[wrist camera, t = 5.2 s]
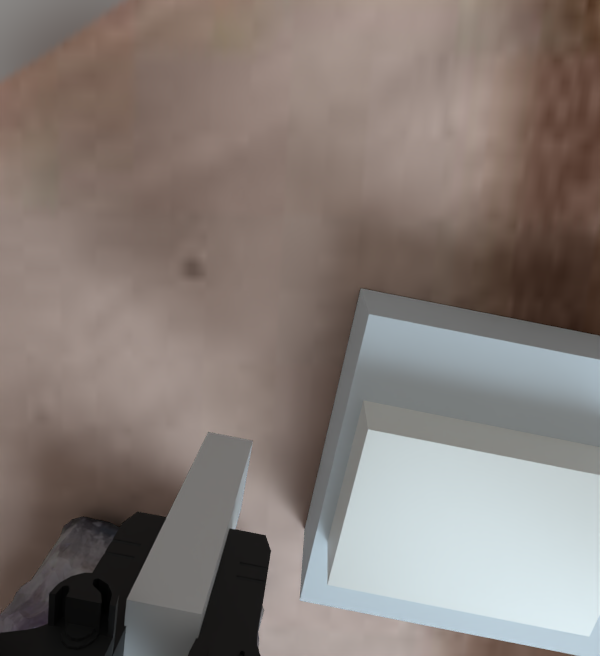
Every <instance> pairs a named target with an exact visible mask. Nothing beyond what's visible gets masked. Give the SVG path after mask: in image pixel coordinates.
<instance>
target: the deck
mask: <svg viewBox="0 0 600 656" xmlns="http://www.w3.org/2000/svg"><path fill="white" fill-rule="evenodd" d="M363 400H364V401H370V402H375V403H380V404H385V405H390V406H395V407H400V408H405V409H410V410H415V411H420V412H425V413H430V414H435V415H440V416H445V417H450V418H455V419H460V420H465V421H470V422H475V423H481V424H486V425H491V426H496V427H501V428H506V429H511V430H516V431H521V432H526V433H531V434H536V435H541V436H546V437H551V438H556V439H561V440H566V441H571V442H576V443H581V444H586V445H592V446H597V447H600V336H599V335H594V334H589V333H584V332H579V331H574V330H569V329H564V328H559V327H554V326H549V325H543V324H538V323H533V322H528V321H523V320H518V319H513V318H508V317H503V316H498V315H493V314H488V313H483V312H478V311H473V310H468V309H463V308H458V307H453V306H448V305H443V304H438V303H433V302H428V301H422V300H417V299H412V298H407V297H402V296H397V295H392V294H387V293H382V292H377V291H372V290H367V289H362V288H361V289H360V294H359V298H358V302H357V307H356V311H355V315H354V319H353V324H352V328H351V332H350V337H349V341H348V345H347V350H346V354H345V358H344V362H343V367H342V371H341V375H340V380H339V384H338V388H337V392H336V397H335V401H334V405H333V410H332V414H331V418H330V423H329V427H328V431H327V435H326V440H325V444H324V448H323V453H322V457H321V461H320V466H319V470H318V474H317V478H316V483H315V487H314V491H313V496H312V500H311V504H310V509H309V513H308V517H307V521H306V526H305V530H304V545H303V560H302V574H301V589H300V601H305V602H310V603H315V604H320V605H325V606H330V607H336V608H341V609H346V610H351V611H356V612H361V613H366V614H371V615H376V616H381V617H386V618H391V619H396V620H401V621H406V622H411V623H416V624H421V625H426V626H431V627H437V628H442V629H447V630H452V631H457V632H462V633H467V634H472V635H477V636H482V637H487V638H492V639H497V640H502V641H507V642H512V643H517V644H522V645H527V646H533V647H538V648H543V649H548V650H553V651H558V652H563V653H568V654H573V655H578V656H600V616H599V618H598V620H597V622H596V624H595V626H594V628H593V630H592V632H591V634H590V636H589V637H588V636H583V635H578V634H573V633H568V632H563V631H558V630H553V629H548V628H543V627H538V626H533V625H527V624H522V623H517V622H512V621H507V620H502V619H497V618H492V617H487V616H482V615H477V614H472V613H467V612H462V611H457V610H452V609H447V608H442V607H437V606H431V605H426V604H421V603H416V602H411V601H406V600H401V599H396V598H391V597H386V596H381V595H376V594H371V593H366V592H361V591H356V590H351V589H346V588H341V587H336V586H330V585H327V542H328V538H329V534H330V530H331V526H332V522H333V518H334V514H335V510H336V506H337V502H338V498H339V494H340V490H341V487H342V483H343V479H344V475H345V471H346V467H347V463H348V459H349V455H350V451H351V447H352V443H353V439H354V435H355V431H356V427H357V423H358V419H359V415H360V411H361V407H362V403H363Z"/></svg>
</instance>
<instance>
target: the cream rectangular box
mask: <svg viewBox="0 0 600 656" xmlns="http://www.w3.org/2000/svg"><path fill="white" fill-rule="evenodd" d="M327 585H330V586H336V587H341V588H346V589H351V590H356V591H361V592H366V593H371V594H376V595H381V596H386V597H391V598H396V599H401V600H406V601H411V602H416V603H421V604H426V605H431V606H437V607H442V608H447V609H452V610H457V611H462V612H467V613H472V614H477V615H482V616H487V617H492V618H497V619H502V620H507V621H512V622H517V623H522V624H527V625H533V626H538V627H543V628H548V629H553V630H558V631H563V632H568V633H573V634H578V635H583V636H588V637H589V636H590V634H591V632H592V630H593V628H594V626H595V624H596V622H597V620H598V618H599V616H600V447H597V446H592V445H586V444H581V443H576V442H571V441H566V440H561V439H556V438H551V437H546V436H541V435H536V434H531V433H526V432H521V431H516V430H511V429H506V428H501V427H496V426H491V425H486V424H481V423H475V422H470V421H465V420H460V419H455V418H450V417H445V416H440V415H435V414H430V413H425V412H420V411H415V410H410V409H405V408H400V407H395V406H390V405H385V404H380V403H375V402H370V401H364V400H363V403H362V407H361V411H360V415H359V419H358V423H357V427H356V431H355V435H354V439H353V443H352V447H351V451H350V455H349V459H348V463H347V467H346V471H345V475H344V479H343V483H342V487H341V490H340V494H339V498H338V502H337V506H336V510H335V514H334V518H333V522H332V526H331V530H330V534H329V538H328V542H327Z"/></svg>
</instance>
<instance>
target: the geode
mask: <svg viewBox="0 0 600 656" xmlns="http://www.w3.org/2000/svg"><path fill="white" fill-rule="evenodd" d="M119 528H120V527H118V526H116V525H114V524H112V523H110V522H105V521H100V520H95V519H91V518H87V517H80V518H76V519H73V520H71V521H70V522H69V523H67V524H66V525H65V526H64V527H63V530H62V533H61V536H60V538H59V539H58V541H57V542H56V544H55V545H54V547H53V548H52V550H51V551H50V553H49V554H48V555H47V557H46V559H45V560H44V562H43V563H42V565H41V566H40V568H39V570H38V571H37V573H36V574H35V575H34V577H33V578H32V580H31V581H29V582H28V583H26V584H25V585H23V586H22V587H21V588H20V589H19V590H18V592H17V593H16V595H15V597H14V600H13V601H12V602H11V603H10V604H9V605H8V607H7V608H6V609H5V610H4V611H3V612H2V613H1V614H0V633H1V632H10V631H19V630H27V629H32V628H37V627H40V626H43V625H45V624H48V607H49V593H50V592H51V591H52V590H53V589H54V588H55V586H56V585H57V584H58V583H60V582H62V581H63V580H65V579H67V578H69V577H70V576H73V575H77V574H81V573H92V572H93V571H94V569H95V567H96V566H97V564H98V562H99V561H100V559H101V557H102V556H103V554H105V551H106V549H107V548H108V546H109V544H110V543H111V542H112V541H113V538H114V536H115V534H116V533H117V531H118V530H119ZM263 612H264V609H263V606H262V611H261V617H260V623H261V619H262V616H263ZM260 623H259V627H260ZM257 645H259V635H258V640H257Z"/></svg>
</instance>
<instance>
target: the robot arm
mask: <svg viewBox="0 0 600 656" xmlns="http://www.w3.org/2000/svg"><path fill="white" fill-rule="evenodd" d="M252 443H253V441H252V440H247V439H242V438H237V437H232V436H227V435H222V434H216V433H211V432H208V434H207V436H206V438H205V440H204V442H203V444H202V446H201V448H200V450H199V452H198V454H197V456H196V458H195V460H194V462H193V464H192V466H191V468H190V470H189V473H188V475H187V477H186V479H185V481H184V483H183V485H182V487H181V489H180V491H179V493H178V495H177V497H176V499H175V501H174V503H173V505H172V507H171V509H170V512H169V514H168V516H167V517H162V516H157V515H152V514H147V513H141V512H137V513H135V514H134V515H133V516H131V517H130V518H129V519H127V520H126V521H125V522H123V523H122V525H121V526H120V528H119V530H118V531H117V533H116V534H115V536H114V538H113V541H112V542H111V543H110V544H109V546H108V548H107V549H106V551H105V554H103V556H102V557H101V559H100V561H99V562H98V564H97V566H96V567H95V569H94V571H93V572H92V573H81V574H77V575H73V576H70V577H69V578H67V579H65V580H63V581H62V582H60V583H58V584H57V585H56V586H55V588H54V589H53V590H52V591H51V592H50V593H49V607H48V624H45V625H43V626H40V627H37V628H32V629H27V630H19V631H10V632H1V633H0V656H260V654H259V649H258V645H257V640H258V630H259V623H260V617H261V611H262V604H263V598H264V591H265V585H266V579H267V572H268V566H269V560H270V553H271V550H270V547H269V544H268V541H267V538H266V535H261V534H256V533H251V532H246V531H241V530H235V529H236V525H237V522H238V518H239V514H240V511H241V506H242V500H243V494H244V489H245V483H246V477H247V472H248V466H249V460H250V455H251V449H252Z"/></svg>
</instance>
